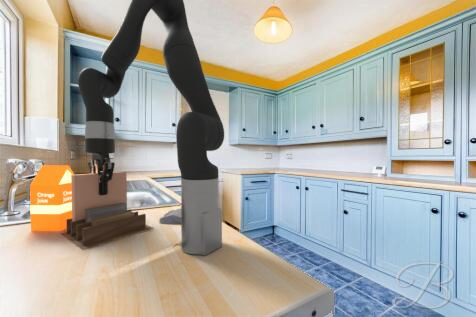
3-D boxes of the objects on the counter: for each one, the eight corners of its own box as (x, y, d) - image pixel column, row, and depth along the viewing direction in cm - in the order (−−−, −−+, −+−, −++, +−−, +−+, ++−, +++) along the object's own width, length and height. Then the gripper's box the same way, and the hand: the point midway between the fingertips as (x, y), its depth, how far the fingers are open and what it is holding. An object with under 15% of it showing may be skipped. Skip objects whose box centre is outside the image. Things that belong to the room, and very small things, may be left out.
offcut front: (134, 229, 62) (134, 212, 62) (95, 240, 54) (95, 221, 53) (129, 227, 63) (129, 210, 63) (91, 237, 55) (91, 219, 55)
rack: (154, 231, 62) (154, 214, 62) (83, 254, 48) (82, 233, 48) (125, 220, 73) (125, 206, 73) (60, 236, 59) (59, 219, 59)
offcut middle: (127, 226, 64) (126, 203, 64) (89, 236, 56) (89, 210, 56) (122, 224, 66) (122, 202, 66) (85, 233, 58) (85, 209, 58)
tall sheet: (127, 220, 68) (126, 171, 68) (75, 233, 57) (74, 175, 57) (123, 218, 70) (122, 171, 70) (72, 231, 58) (71, 174, 58)
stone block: (158, 233, 66) (188, 227, 66) (155, 218, 66) (185, 212, 66) (170, 222, 78) (196, 217, 78) (168, 210, 78) (194, 204, 78)
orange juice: (54, 225, 68) (53, 164, 68) (80, 225, 68) (79, 164, 68) (29, 234, 60) (28, 166, 60) (59, 234, 60) (58, 166, 60)
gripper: (124, 137, 62) (124, 194, 62) (104, 139, 70) (105, 190, 70) (95, 135, 56) (96, 199, 56) (77, 138, 64) (78, 194, 64)
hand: (101, 194), depth 63 cm, fingers closed on tall sheet, 2 cm apart
